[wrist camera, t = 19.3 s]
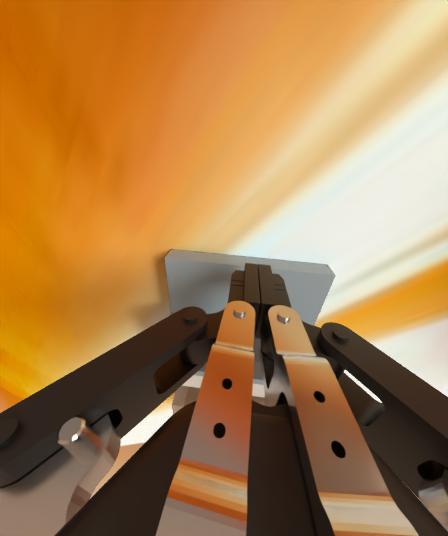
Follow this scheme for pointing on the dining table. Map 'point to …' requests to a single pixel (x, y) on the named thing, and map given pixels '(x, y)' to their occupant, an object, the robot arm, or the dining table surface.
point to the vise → (218, 284)
